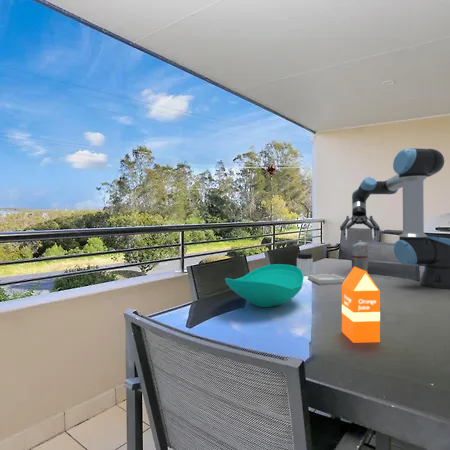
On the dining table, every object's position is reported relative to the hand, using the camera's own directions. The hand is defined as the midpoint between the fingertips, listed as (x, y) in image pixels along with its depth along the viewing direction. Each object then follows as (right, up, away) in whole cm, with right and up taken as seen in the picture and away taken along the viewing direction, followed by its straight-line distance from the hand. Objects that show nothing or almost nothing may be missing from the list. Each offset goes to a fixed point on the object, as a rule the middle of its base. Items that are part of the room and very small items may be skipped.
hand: (359, 239), depth 188 cm
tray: (-21, -21, -9) cm, 31 cm away
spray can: (-3, -21, -9) cm, 23 cm away
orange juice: (-33, -25, -86) cm, 96 cm away
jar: (-27, -21, +11) cm, 36 cm away
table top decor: (-57, -24, -51) cm, 80 cm away
